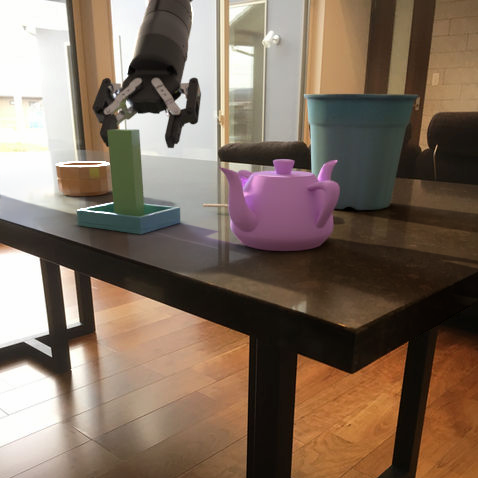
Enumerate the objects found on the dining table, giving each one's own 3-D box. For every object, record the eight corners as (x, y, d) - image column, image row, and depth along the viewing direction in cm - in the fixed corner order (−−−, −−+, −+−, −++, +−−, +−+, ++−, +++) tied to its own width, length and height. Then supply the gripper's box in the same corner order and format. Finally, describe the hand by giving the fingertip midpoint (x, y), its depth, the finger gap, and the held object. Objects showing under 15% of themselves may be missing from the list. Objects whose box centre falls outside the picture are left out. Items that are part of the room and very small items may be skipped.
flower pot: (418, 214, 74) (434, 92, 68) (303, 213, 75) (310, 91, 69) (390, 197, 89) (401, 95, 83) (295, 196, 90) (299, 95, 84)
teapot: (219, 253, 53) (218, 164, 50) (238, 226, 66) (238, 154, 63) (336, 257, 52) (343, 166, 49) (332, 229, 65) (337, 155, 61)
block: (114, 221, 66) (106, 130, 62) (123, 217, 69) (116, 129, 65) (137, 222, 65) (130, 130, 61) (145, 218, 68) (139, 129, 64)
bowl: (48, 194, 91) (44, 164, 89) (85, 188, 98) (82, 160, 96) (86, 198, 87) (83, 167, 85) (122, 191, 94) (120, 163, 92)
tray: (77, 225, 66) (76, 209, 65) (121, 215, 73) (120, 200, 72) (140, 234, 62) (139, 217, 61) (180, 222, 68) (180, 207, 67)
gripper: (103, 32, 72) (75, 121, 66) (203, 30, 70) (184, 122, 64) (121, 76, 79) (97, 161, 73) (212, 76, 77) (195, 163, 71)
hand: (137, 143), depth 68 cm, fingers open, 8 cm apart
